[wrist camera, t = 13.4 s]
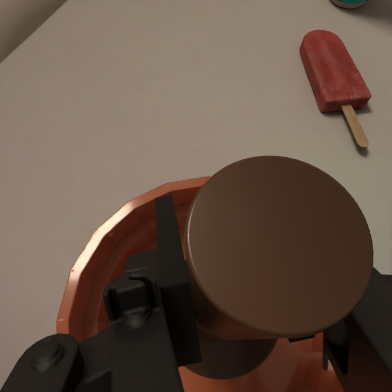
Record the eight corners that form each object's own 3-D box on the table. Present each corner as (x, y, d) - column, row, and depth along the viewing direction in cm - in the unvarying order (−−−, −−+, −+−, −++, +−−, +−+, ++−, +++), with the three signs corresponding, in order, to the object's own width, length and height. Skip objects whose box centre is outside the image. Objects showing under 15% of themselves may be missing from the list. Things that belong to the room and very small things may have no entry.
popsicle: (345, 144, 27) (297, 29, 34) (337, 155, 29) (292, 43, 35) (394, 139, 28) (337, 25, 34) (383, 150, 29) (331, 39, 36)
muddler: (173, 384, 16) (79, 568, 3) (157, 272, 18) (67, 106, 5) (281, 360, 16) (602, 431, 3) (252, 254, 18) (381, 61, 6)
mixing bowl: (96, 503, 19) (57, 569, 13) (84, 230, 26) (55, 201, 21) (369, 436, 20) (433, 470, 15) (286, 194, 27) (309, 158, 22)
